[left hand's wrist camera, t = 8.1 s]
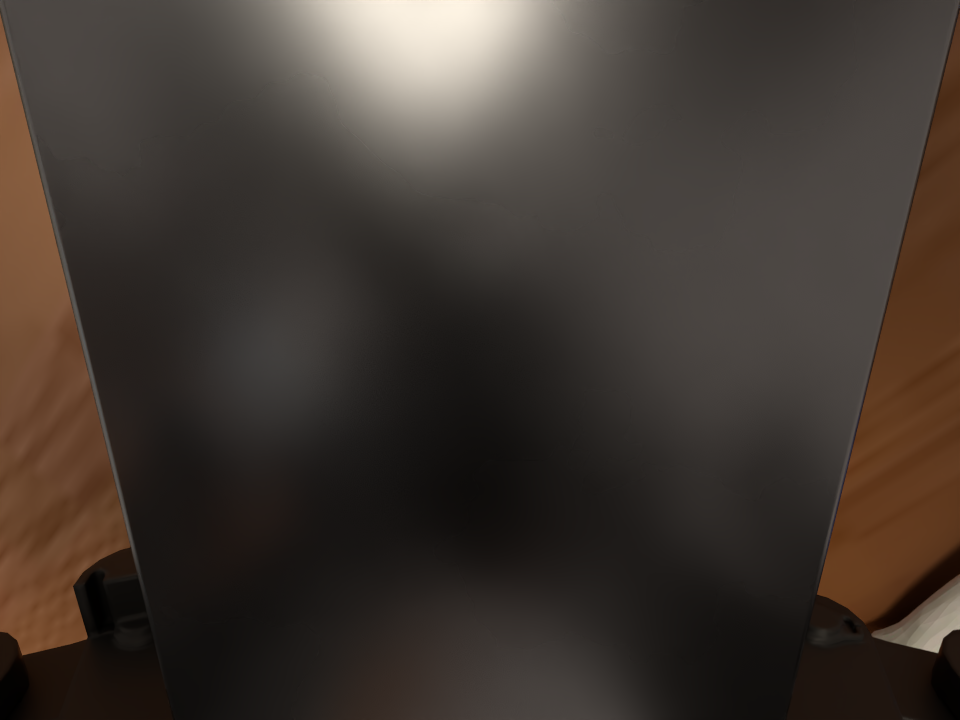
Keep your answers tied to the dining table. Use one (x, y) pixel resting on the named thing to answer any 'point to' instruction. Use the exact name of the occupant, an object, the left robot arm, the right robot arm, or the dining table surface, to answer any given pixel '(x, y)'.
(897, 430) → the dining table surface
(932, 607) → the tape dispenser
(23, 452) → the dining table surface
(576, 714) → the bar
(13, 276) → the dining table surface
